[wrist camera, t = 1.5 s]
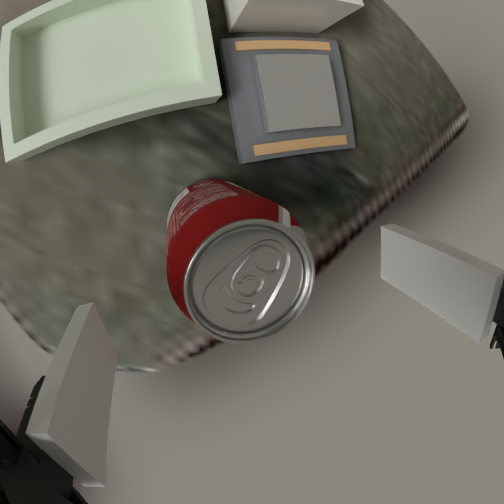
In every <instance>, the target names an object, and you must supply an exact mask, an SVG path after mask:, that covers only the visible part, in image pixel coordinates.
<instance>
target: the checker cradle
mask: <svg viewBox="0 0 504 504" xmlns="http://www.w3.org/2000/svg"><path fill="white" fill-rule="evenodd" d="M218 47H219V53H220V58H221V64H222V70H223V75H224V81H225V87H226V92H227V98H228V104H229V109H230V115H231V121H232V127H233V132H234V138H235V144H236V149H237V155H238V161H239V163H241V164H244V163H249V162H255V161H261V160H266V159H273V158H279V157H285V156H292V155H299V154H306V153H314V152H322V151H330V150H339V149H349V148H356V146H355V138H354V130H353V123H352V116H351V109H350V103H349V97H348V91H347V86H346V80H345V75H344V70H343V65H342V60H341V56H340V51H339V47H338V43H337V40H331V39H320V38H305V37H244V38H229V39H221V40H220V42H219V44H218ZM261 54H316V55H328V56H329V60H330V65H331V70H332V75H333V80H334V86H335V91H336V97H337V103H338V109H339V115H340V122H341V125H340V126H329V127H316V128H305V129H295V130H286V131H277V132H269V133H265V130H264V124H263V118H262V113H261V107H260V101H259V95H258V90H257V84H256V79H255V73H254V68H253V63H252V58H253V57H254V56H255V55H261Z"/></svg>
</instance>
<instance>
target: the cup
mask: <svg viewBox="0 0 504 504" xmlns="http://www.w3.org/2000/svg"><path fill="white" fill-rule="evenodd" d="M223 6H224V11H225V16H226V21H227V27H228V32H229V33H242V32H301V33H316V34H318V33H320V32H322V31H323V30H325V29H326V28H328V27H329V26H331V25H333V24H334V23H336V22H337V21H339V20H341V19H342V18H344V17H346V16H347V15H349V14H351V13H353V12H354V11H356V10H358V9H360V8H361V7H363V6H364V4H363V1H362V0H223Z"/></svg>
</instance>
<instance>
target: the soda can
mask: <svg viewBox="0 0 504 504" xmlns="http://www.w3.org/2000/svg"><path fill="white" fill-rule="evenodd" d="M167 280H168V285H169V289H170V292H171V294H172V297H173V299H174V301H175V302H176V304H177V306H178V307H179V308H180V310H181V311H182V312H183V313H184V314H185V315H186V316H187V317H188V318H189V319H190V320H192V321H193V322H194V323H196V325H197V326H198V327H199V328H200V329H201V330H203V331H204V332H205V333H207V334H208V335H210V336H211V337H213V338H215V339H218V340H221V341H224V342H228V343H234V344H249V343H255V342H259V341H263V340H266V339H269V338H271V337H273V336H275V335H277V334H279V333H281V332H282V331H284V330H285V329H286V328H288V327H289V326H290V325H291V324H292V323H293V322H294V321H295V320H296V319H297V318H298V317H299V316H300V315H301V313H302V312H303V310H304V309H305V307H306V306H307V304H308V302H309V300H310V297H311V295H312V292H313V288H314V282H315V266H314V261H313V257H312V255H311V252H310V250H309V245H308V242H307V238H306V236H305V233H304V231H303V229H302V227H301V226H300V224H299V223H298V221H297V220H296V219H295V218H294V217H293V216H292V215H291V214H290V213H289V212H288V211H287V210H286V209H284V208H283V207H281V206H280V205H278V204H276V203H274V202H272V201H270V200H268V199H266V198H264V197H262V196H259V195H257V194H255V193H253V192H251V191H248V190H246V189H244V188H242V187H240V186H237V185H235V184H233V183H231V182H228V181H225V180H221V179H205V180H201V181H198V182H195V183H193V184H191V185H189V186H188V187H186V188H185V189H184V190H182V191H181V192H180V193H179V194H178V196H177V197H176V198H175V200H174V201H173V203H172V205H171V208H170V210H169V214H168V220H167Z"/></svg>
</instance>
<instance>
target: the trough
mask: <svg viewBox="0 0 504 504" xmlns="http://www.w3.org/2000/svg"><path fill="white" fill-rule="evenodd" d="M221 96H222V92H221V86H220V80H219V74H218V69H217V63H216V57H215V51H214V46H213V40H212V34H211V28H210V23H209V17H208V11H207V5H206V0H52V1H50V2H48V3H46V4H44V5H41V6H39V7H37V8H35V9H33V10H31V11H29V12H27V13H25V14H24V15H22V16H20V17H18V18H16V19H14V20H13V21H11V22H9V23H7V24H6V25H4V26H2V34H1V44H0V121H1V132H2V140H3V148H4V155H5V161H6V162H15V161H24V160H26V159H28V158H30V157H33V156H35V155H37V154H39V153H42V152H44V151H46V150H49V149H51V148H54V147H56V146H58V145H61V144H64V143H66V142H69V141H71V140H74V139H77V138H80V137H82V136H85V135H88V134H91V133H94V132H97V131H100V130H103V129H106V128H110V127H113V126H116V125H119V124H123V123H126V122H130V121H134V120H137V119H141V118H145V117H149V116H153V115H157V114H161V113H166V112H170V111H175V110H180V109H185V108H190V107H195V106H201V105H206V104H212V103H216V102H217V100H218V99H219V98H220V97H221Z"/></svg>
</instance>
